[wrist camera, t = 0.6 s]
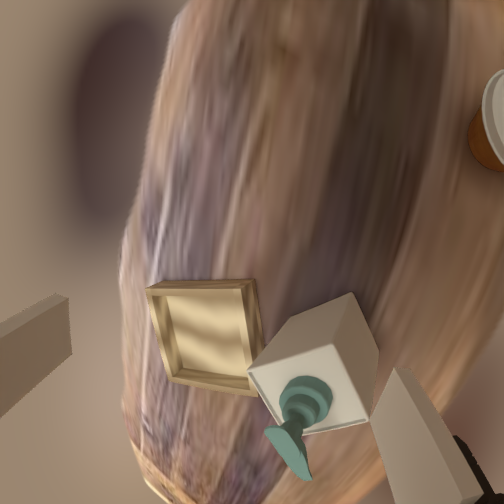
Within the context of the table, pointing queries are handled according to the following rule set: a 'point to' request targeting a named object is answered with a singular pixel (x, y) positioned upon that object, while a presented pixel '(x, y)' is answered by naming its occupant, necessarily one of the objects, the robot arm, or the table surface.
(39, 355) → the robot arm
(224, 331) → the caddy
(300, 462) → the soap bottle
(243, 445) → the table surface
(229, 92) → the table surface
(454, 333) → the table surface
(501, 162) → the disposable coffee cup
